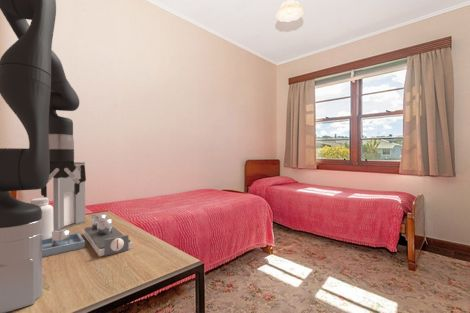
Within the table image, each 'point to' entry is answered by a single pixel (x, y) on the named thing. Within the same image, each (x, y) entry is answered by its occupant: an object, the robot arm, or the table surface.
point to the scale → (107, 241)
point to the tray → (75, 244)
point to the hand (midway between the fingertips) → (61, 195)
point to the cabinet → (68, 201)
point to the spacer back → (97, 217)
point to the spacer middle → (104, 226)
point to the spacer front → (60, 237)
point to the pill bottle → (45, 216)
